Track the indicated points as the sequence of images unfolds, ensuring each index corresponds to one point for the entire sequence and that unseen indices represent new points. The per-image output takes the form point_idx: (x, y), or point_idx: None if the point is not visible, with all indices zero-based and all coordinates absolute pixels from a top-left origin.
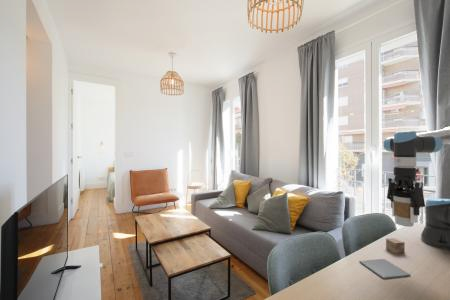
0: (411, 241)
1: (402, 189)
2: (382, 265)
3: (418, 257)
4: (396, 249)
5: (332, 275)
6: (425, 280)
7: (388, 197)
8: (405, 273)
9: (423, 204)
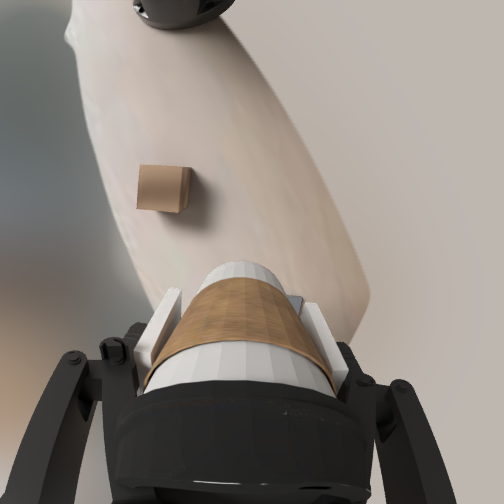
0: (139, 60)
1: (140, 482)
2: None
3: (232, 156)
4: (184, 203)
5: None
6: (327, 279)
7: (90, 401)
8: (294, 306)
9: (408, 400)
